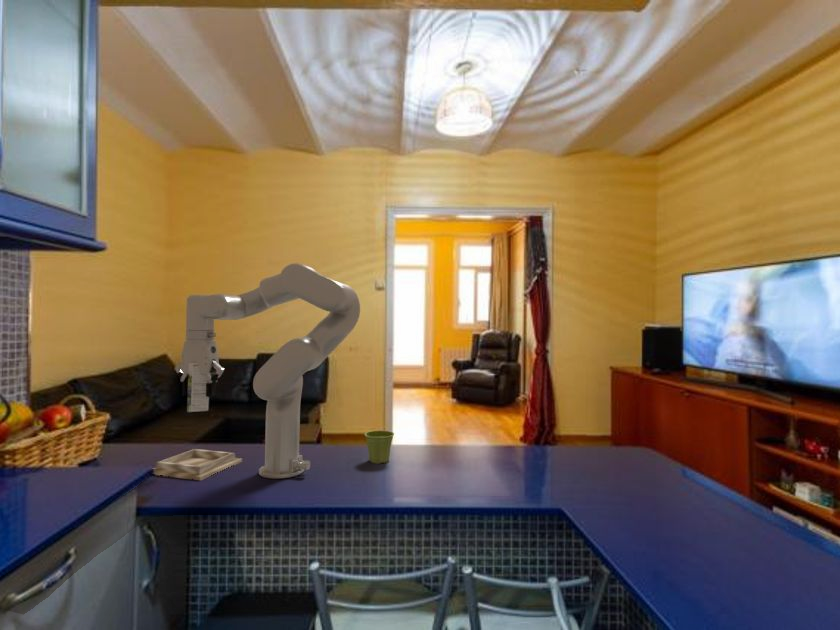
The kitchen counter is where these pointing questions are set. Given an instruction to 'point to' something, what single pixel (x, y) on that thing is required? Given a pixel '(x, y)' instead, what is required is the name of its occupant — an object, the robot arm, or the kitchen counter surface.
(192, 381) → the syrup box
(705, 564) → the kitchen counter surface
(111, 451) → the kitchen counter surface
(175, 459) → the tray
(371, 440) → the plant pot
